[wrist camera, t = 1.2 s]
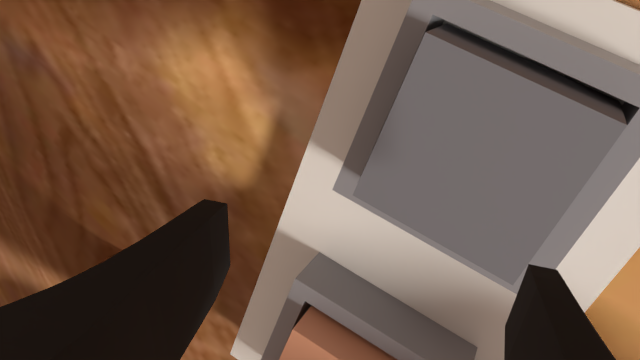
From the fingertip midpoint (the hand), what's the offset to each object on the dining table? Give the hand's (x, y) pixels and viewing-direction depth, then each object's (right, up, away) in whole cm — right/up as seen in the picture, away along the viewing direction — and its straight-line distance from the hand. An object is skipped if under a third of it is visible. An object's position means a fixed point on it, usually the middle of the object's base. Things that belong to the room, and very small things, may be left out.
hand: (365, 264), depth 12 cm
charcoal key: (+5, +4, +6) cm, 8 cm away
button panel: (+4, -1, +12) cm, 12 cm away
